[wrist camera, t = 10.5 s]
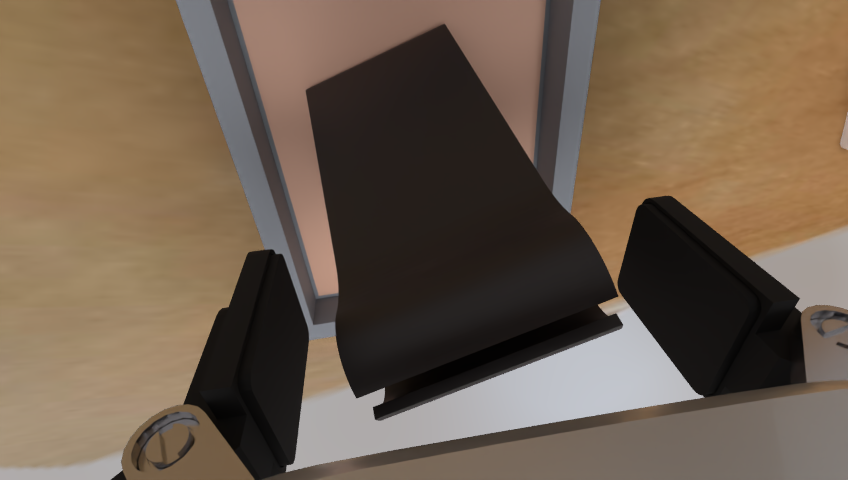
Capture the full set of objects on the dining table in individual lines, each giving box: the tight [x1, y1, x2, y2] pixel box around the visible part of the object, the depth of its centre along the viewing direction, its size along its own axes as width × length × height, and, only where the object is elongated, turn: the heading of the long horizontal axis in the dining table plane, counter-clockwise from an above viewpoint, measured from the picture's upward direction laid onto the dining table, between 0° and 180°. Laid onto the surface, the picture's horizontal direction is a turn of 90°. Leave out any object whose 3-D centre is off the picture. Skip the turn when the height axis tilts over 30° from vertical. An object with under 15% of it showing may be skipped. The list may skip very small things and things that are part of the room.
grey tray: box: [176, 0, 601, 340], centre depth 19 cm, size 14×17×3 cm
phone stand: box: [306, 24, 623, 420], centre depth 14 cm, size 9×6×12 cm, turn 22°
